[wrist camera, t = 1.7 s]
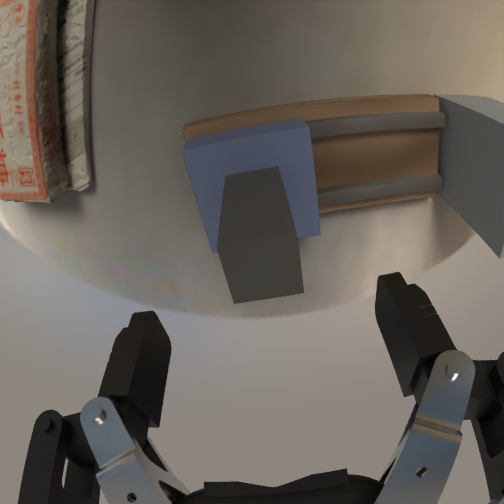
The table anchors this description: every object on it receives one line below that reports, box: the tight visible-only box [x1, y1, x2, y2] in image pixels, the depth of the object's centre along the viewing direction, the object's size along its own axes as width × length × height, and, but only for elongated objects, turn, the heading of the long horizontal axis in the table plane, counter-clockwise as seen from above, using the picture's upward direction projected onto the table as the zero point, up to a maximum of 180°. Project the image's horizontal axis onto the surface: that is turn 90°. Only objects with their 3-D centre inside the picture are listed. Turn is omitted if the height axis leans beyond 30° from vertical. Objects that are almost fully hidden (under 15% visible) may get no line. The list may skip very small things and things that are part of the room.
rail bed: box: [182, 95, 445, 213], centre depth 21 cm, size 8×18×2 cm, turn 101°
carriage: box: [182, 118, 321, 304], centre depth 16 cm, size 7×7×9 cm
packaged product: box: [0, 0, 95, 204], centre depth 16 cm, size 18×5×10 cm
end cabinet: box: [434, 95, 504, 258], centre depth 17 cm, size 8×6×10 cm
